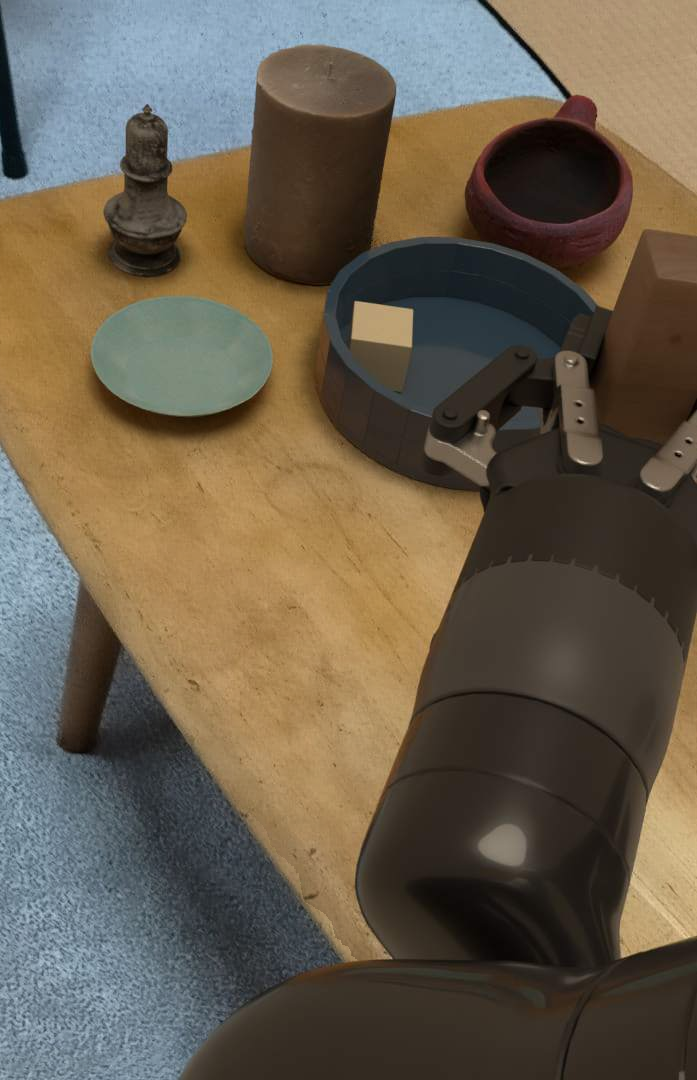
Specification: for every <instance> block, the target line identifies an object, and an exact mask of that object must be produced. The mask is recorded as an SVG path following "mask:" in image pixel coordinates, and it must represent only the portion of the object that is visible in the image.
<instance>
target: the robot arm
mask: <svg viewBox="0 0 697 1080" xmlns="http://www.w3.org/2000/svg"><path fill="white" fill-rule="evenodd" d="M597 305H598V304H597ZM597 305H596V308H595V311H594V313H593V316H592V317H591V316H588V315H585V314H582V313H580V314H578V315H577V316H575V317H574V318H573V319H572V321H571V324H570V327H569V329H568V332H567V334H566V337H565V339H564V342H563V344H562V347H561V350H560V352H559V353H558V354H557V355H556V356H555V357H553V358H549V359H541V358H537V354H536V353H535V352H534V351H533V350H532V349H531V348H529V347H526V346H523V345H513V346H510V347H509V348H507V349H506V350H505V351H504V352H502V353H501V354H500V355H499V356H498V357H496V358H495V359H494V360H493V361H491V362H490V363H489V364H488V365H487V366H485V367H484V368H483V369H482V370H481V371H479V372H478V373H477V374H476V375H474V376H473V377H472V378H471V379H470V380H468V381H467V382H466V383H465V384H463V385H462V386H461V387H460V388H459V389H457V390H456V391H455V392H454V393H452V394H451V395H450V396H449V397H448V398H446V399H445V400H444V401H443V402H442V403H440V404H439V405H438V406H437V407H436V408H435V409H434V410H433V414H432V418H431V422H430V425H429V428H428V432H427V436H426V440H425V444H424V449H423V453H422V457H421V462H420V463H421V466H422V468H423V469H424V470H425V471H426V472H427V473H429V474H431V475H435V476H445V475H447V474H449V473H450V472H452V471H453V470H456V471H457V472H459V473H461V474H462V475H464V476H465V477H467V478H469V479H470V480H472V481H473V482H475V483H476V484H478V485H480V486H481V487H480V491H479V501H480V503H481V506H482V509H483V515H482V517H481V520H480V523H479V524H478V525H479V526H478V528H477V530H476V532H475V535H474V538H473V541H472V543H471V545H470V547H469V550H468V552H467V555H466V558H465V560H464V563H463V566H462V568H461V570H460V573H459V574H458V578H457V580H456V583H455V585H454V587H453V590H452V593H451V596H450V599H449V600H448V602H447V605H446V608H445V610H444V613H443V614H442V618H441V619H440V623H439V625H438V628H437V629H436V630H435V632H434V634H433V635H432V637H431V641H430V644H429V649H428V653H427V655H426V658H425V661H424V663H423V667H422V670H421V672H420V676H419V681H418V684H417V688H416V689H417V690H416V695H415V699H414V703H413V709H412V713H411V717H410V720H409V723H408V726H407V729H406V730H405V733H404V736H403V738H402V740H401V743H400V746H399V748H398V751H397V752H396V756H395V758H394V761H393V764H392V766H391V769H390V771H389V774H388V776H387V778H386V781H385V784H384V786H383V788H382V791H381V794H380V796H379V798H378V803H377V804H376V807H375V810H374V812H373V815H372V817H371V820H370V822H369V825H368V827H367V830H366V833H365V836H364V839H363V841H362V843H361V847H360V850H359V853H358V854H359V855H358V857H357V862H356V867H355V876H354V891H355V897H356V900H357V903H358V904H357V905H358V908H359V911H360V914H361V916H362V918H363V920H364V922H365V923H366V926H368V929H369V930H370V931H371V933H372V934H373V935H374V937H375V939H377V941H378V942H379V943H380V945H381V946H382V947H383V949H384V950H385V952H387V954H388V955H389V957H391V958H381V959H365V960H364V959H362V960H351V961H346V962H341V963H336V964H329V965H325V966H320V967H316V968H313V969H310V970H307V971H303V972H302V973H298V974H296V975H293V976H291V977H288V978H287V979H285V980H283V981H280V982H279V983H277V984H275V985H272V986H271V987H269V988H267V989H265V990H263V991H261V992H260V993H258V994H256V995H255V996H254V997H251V999H249V1000H248V1001H246V1002H244V1003H243V1004H242V1005H241V1006H239V1007H238V1008H237V1009H235V1010H234V1011H233V1012H231V1014H230V1015H228V1016H227V1017H226V1018H225V1019H224V1020H222V1021H221V1022H220V1023H219V1025H217V1026H216V1027H215V1028H214V1029H213V1031H212V1032H211V1033H210V1034H209V1035H208V1036H207V1037H206V1038H205V1039H204V1040H203V1042H202V1043H201V1044H200V1046H199V1047H198V1048H197V1049H196V1050H195V1052H194V1053H193V1054H192V1056H191V1058H190V1059H189V1060H188V1062H186V1064H185V1066H184V1067H183V1069H182V1071H181V1073H180V1074H179V1075H178V1077H177V1079H176V1080H697V935H694V936H690V937H686V938H684V939H680V940H676V941H673V942H670V943H666V944H662V945H659V946H656V947H652V948H650V949H647V950H644V951H638V952H635V953H633V954H630V955H627V956H624V957H622V950H621V949H622V948H621V921H622V917H623V913H624V909H625V905H626V901H627V897H628V893H629V888H630V885H631V881H632V875H633V871H634V866H635V862H636V857H637V852H638V848H639V844H640V839H641V835H642V829H643V824H644V821H645V815H646V810H647V806H648V802H649V798H650V795H651V792H652V790H653V787H654V784H655V782H656V781H657V780H656V779H657V777H658V775H659V773H660V770H661V768H662V765H663V762H664V759H665V757H666V755H667V751H668V747H669V744H670V740H671V736H672V732H673V729H674V724H675V719H676V713H677V709H678V705H679V700H680V696H681V690H682V686H683V681H684V676H685V671H686V668H687V667H686V666H687V662H688V657H689V652H690V647H691V642H692V639H693V633H694V628H695V623H696V619H697V484H696V481H697V399H696V401H695V403H694V405H693V408H692V410H691V412H690V414H689V416H688V419H687V421H685V420H684V421H683V422H682V424H681V425H680V426H679V427H678V428H677V430H676V431H675V432H674V433H673V434H672V436H671V437H670V438H669V439H668V440H667V442H666V443H665V444H664V445H662V444H659V443H656V442H653V441H650V440H645V439H639V438H632V437H628V436H625V435H624V434H622V433H620V432H618V431H616V430H614V429H612V428H611V427H609V426H606V425H603V424H601V423H598V422H597V415H596V405H595V394H594V390H593V389H589V381H588V379H589V376H590V374H591V371H592V368H593V366H594V363H595V360H596V358H597V355H598V352H599V349H600V346H601V343H602V341H603V338H604V335H605V331H606V329H607V326H608V323H609V320H610V318H611V315H612V312H613V309H609V308H607V307H606V308H605V307H603V306H600V305H598V306H597ZM522 406H527V407H537V408H539V414H540V435H539V436H536V437H534V438H531V439H529V440H526V441H524V442H521V443H519V444H517V445H514V446H512V447H509V448H507V449H504V450H502V451H500V452H498V453H496V452H495V451H494V449H493V448H492V444H493V440H494V437H495V434H496V432H497V431H498V430H499V429H500V428H501V427H502V426H503V425H505V424H506V423H507V422H508V421H509V420H510V419H511V418H512V417H514V416H515V415H516V414H517V413H518V412H519V411H520V410H521V408H522Z"/></svg>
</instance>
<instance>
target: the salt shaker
mask: <svg viewBox="0 0 697 1080" xmlns="http://www.w3.org/2000/svg"><path fill="white" fill-rule="evenodd" d="M141 111H142V112H139V113H136V114H133V115H132V116H131V117H130V118H129V119H128V120H127V121H126V125H125V155H124V156H123V157H121V159H120V161H119V168H120V170H121V171H122V172H123V174H124V177H123V179H124V180H123V181H124V182H123V183H124V185H123V186H124V187H123V191H121V192H119V193H117V194H114V195H113V196H112V197H111V198H109V199H107V201H106V203H105V204H104V206H103V213H102V214H103V218H104V221H105V222H106V223H107V226H108V228H109V231H110V234H111V235H112V237H113V240H112V241H111V243H110V244H109V246H108V250H107V256H108V258H109V261H110V262H111V263H112V266H114V267H116V268H117V269H118V270H119V271H122V272H123V273H125V274H128V275H132V276H136V277H145V278H149V277H158V276H162V275H166V274H169V273H170V272H172V271H173V270H174V269H176V268H177V267H178V266H179V264H180V263H181V260H182V252H181V250H180V247H179V246H178V245H177V243H176V241H177V240H178V238H179V237H180V234H181V233H182V229H183V228H184V227H185V225H186V223H187V219H188V213H187V210H186V207H185V206H184V205H183V204H182V203H181V202H180V201H179V200H178V199H177V198H175V197H174V196H172V195H170V194H169V192H168V180H169V177H170V176H171V174H172V172H173V164H172V162H171V161H170V160H169V158H168V148H169V147H168V145H169V144H168V143H169V128H168V126H167V123H166V122H165V120H164V119H163V118H162V117H161V116H159V115H157V114H155V113H152V112H153V108H152V107H151V106H150V104H148V103H146V104H145V105H144V106H143V107H142V108H141Z"/></svg>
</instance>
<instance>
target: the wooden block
mask: <svg viewBox="0 0 697 1080" xmlns="http://www.w3.org/2000/svg"><path fill="white" fill-rule="evenodd" d="M612 311H613V312H612V315H611V318H610V320H609V323H608V326H607V329H606V331H605V335H604V338H603V341H602V343H601V346H600V349H599V352H598V355H597V358H596V360H595V363H594V366H593V368H592V371H591V374H590V376H589V379H588V381H589V389H593V390H594V394H595V405H596V415H597V422H598V423H601V424H603V425H606V426H609V427H611V428H612V429H614V430H616V431H618V432H620V433H622V434H624V435H625V436H628V437H632V438H639V439H645V440H650V441H653V442H656V443H659V444H662V445H664V444H665V443H666V442H667V440H668V439H669V438H670V437H671V436H672V434H673V433H674V432H675V431H676V430H677V428H678V427H679V426H680V425H681V424H682V422H683V421H684V420H685V421H687V419H688V416H689V414H690V412H691V410H692V408H693V405H694V403H695V401H696V399H697V235H693V234H692V235H691V234H683V233H677V232H671V231H665V230H657V229H652V228H651V229H650V228H646V229H643V230H642V232H641V234H640V236H639V239H638V242H637V245H636V247H635V250H634V253H633V256H632V258H631V261H630V264H629V266H628V269H627V272H626V275H625V277H624V280H623V283H622V284H621V288H620V291H619V293H618V295H617V299H616V301H615V304H614V307H613V309H612ZM696 484H697V481H696Z"/></svg>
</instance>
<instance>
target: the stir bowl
mask: <svg viewBox="0 0 697 1080" xmlns="http://www.w3.org/2000/svg"><path fill="white" fill-rule="evenodd" d="M355 301H359V302H366V303H373V304H380V305H386V306H393V307H400V308H407V309H413V333H412V349H411V354H410V358H409V363H408V367H407V372H406V376H405V381H404V385H403V390H402V392H395V391H393V390H391V389H389V388H387V387H386V386H384V385H383V384H381V383H380V382H379V381H378V380H377V379H376V378H375V377H373V376H372V375H371V374H370V373H369V372H368V371H367V370H365V369H364V368H363V367H362V366H361V365H360V364H359V363H357V361H356V360H355V358H354V357H353V355H352V354H351V352H350V351H349V350H348V348H347V341H348V335H349V330H350V324H351V318H352V312H353V307H354V302H355ZM596 305H597V306H599V304H598V303H597V302H596V301H595V300H594V299H593V298H592V297H591V295H590V294H589V293H588V292H587V291H586V290H585V289H584V288H583V287H581V286H580V285H578V284H577V283H576V282H575V281H573V280H572V279H571V278H569V277H568V276H567V275H565V274H564V273H562V272H561V271H560V270H558V268H553V267H551V266H549V265H547V264H545V263H543V262H541V261H539V260H537V259H535V258H533V257H531V256H529V255H526V254H525V253H522V252H519V251H515V250H512V249H509V248H506V247H503V246H500V245H497V244H494V243H492V244H491V243H488V242H485V241H483V240H482V241H481V240H475V239H469V238H463V237H457V236H418V237H412V238H405V239H401V240H395V241H389V242H386V243H384V244H381V245H379V246H377V247H374V248H372V249H371V248H370V250H369V251H366V252H364V253H362V254H360V255H359V256H358V257H356V258H355V259H354V260H352V261H351V262H350V263H349V264H347V265H346V266H345V267H343V268H342V269H341V270H340V271H339V273H338V274H337V276H336V277H335V279H334V281H333V282H332V283H331V284H329V287H328V288H327V290H326V294H325V300H324V308H323V314H322V322H321V328H320V335H319V340H318V341H319V342H318V346H317V355H316V360H315V367H314V369H315V370H314V371H315V372H314V378H315V379H314V380H315V387H316V391H317V392H316V393H317V395H318V398H319V400H320V403H321V405H322V407H323V409H324V411H325V413H326V415H327V417H328V418H329V420H330V421H331V422H332V424H333V425H334V426H335V428H336V429H337V430H338V431H339V432H340V433H341V434H342V436H343V437H345V438H346V440H348V442H350V443H351V444H352V445H353V446H354V447H356V448H357V449H358V450H359V451H360V452H362V453H363V454H365V455H366V456H367V457H369V458H371V459H372V460H373V461H375V462H377V463H378V464H380V465H382V466H384V467H386V468H388V469H390V470H392V471H394V472H396V473H398V474H401V475H403V476H406V477H408V478H410V479H412V480H417V481H419V482H423V483H426V484H429V485H433V486H439V487H443V488H447V489H448V488H449V489H451V490H452V489H454V490H461V491H463V490H464V491H470V492H471V491H473V492H475V491H476V492H477V491H478V492H480V487H481V486H480V485H478V484H476V483H475V482H473V481H472V480H470V479H469V478H467V477H465V476H464V475H462V474H461V473H459V472H457V471H456V470H453V471H452V472H450V473H449V474H447V475H445V476H435V475H431V474H429V473H427V472H426V471H425V470H424V469H423V468H422V466H421V463H420V462H421V457H422V453H423V449H424V444H425V440H426V436H427V432H428V428H429V425H430V422H431V418H432V414H433V410H434V409H435V408H436V407H437V406H438V405H439V404H440V403H442V402H443V401H444V400H445V399H446V398H448V397H449V396H450V395H451V394H452V393H454V392H455V391H456V390H457V389H459V388H460V387H461V386H462V385H463V384H465V383H466V382H467V381H468V380H470V379H471V378H472V377H473V376H474V375H476V374H477V373H478V372H479V371H481V370H482V369H483V368H484V367H485V366H487V365H488V364H489V363H490V362H491V361H493V360H494V359H495V358H496V357H498V356H499V355H500V354H501V353H502V352H504V351H505V350H506V349H507V348H509V347H510V346H513V345H523V346H526V347H529V348H531V349H532V350H533V351H534V352H535V353H536V354H537V358H541V359H549V358H553V357H555V356H556V355H557V354H558V353H559V352H560V350H561V347H562V344H563V342H564V339H565V337H566V334H567V332H568V329H569V327H570V324H571V321H572V319H573V318H574V317H575V316H577V315H578V314H580V313H582V314H585V315H588V316H591V317H592V316H593V313H594V311H595V308H596ZM539 435H540V414H539V408H537V407H527V406H522V408H521V410H520V411H519V412H518V413H517V414H516V415H515V416H514V417H512V418H511V419H510V420H509V421H508V422H507V423H506V424H505V425H503V426H502V427H501V428H500V429H499V430H498V431H497V432H496V434H495V437H494V440H493V444H492V448H493V449H494V451H495V452H496V453H498V452H500V451H502V450H504V449H507V448H509V447H512V446H514V445H517V444H519V443H521V442H524V441H526V440H529V439H531V438H534V437H536V436H539Z"/></svg>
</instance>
